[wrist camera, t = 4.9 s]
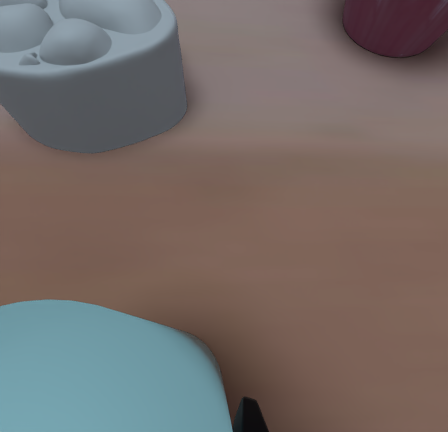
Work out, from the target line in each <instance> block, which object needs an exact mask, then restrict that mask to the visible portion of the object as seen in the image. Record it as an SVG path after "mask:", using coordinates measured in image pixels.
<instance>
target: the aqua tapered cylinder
mask: <svg viewBox="0 0 448 432" xmlns="http://www.w3.org/2000/svg"><path fill="white" fill-rule="evenodd" d="M0 432H233V430H232V425H231V420H230V415H229V410H228V405H227V400H226V395H225V389H224V384H223V379H222V374H221V370H220V367H219V364H218V362H217V360H216V358H215V356H214V354H213V353H212V351H211V350H210V349H209V348H208V346H207V345H206V344H205V343H204V342H203V341H202V340H200V339H199V338H197V337H196V336H194V335H192V334H190V333H188V332H185V331H182V330H178V329H175V328H172V327H168V326H165V325H162V324H158V323H155V322H151V321H148V320H145V319H141V318H138V317H135V316H131V315H128V314H125V313H121V312H118V311H115V310H111V309H108V308H104V307H101V306H98V305H93V304H87V303H82V302H77V301H67V300H37V301H25V302H18V303H13V304H8V305H4V306H0Z"/></svg>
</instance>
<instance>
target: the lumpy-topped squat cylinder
mask: <svg viewBox="0 0 448 432" xmlns="http://www.w3.org/2000/svg"><path fill="white" fill-rule="evenodd" d="M0 104H1V105H2V106H3V107H4V108H5V109H6V110H7V111H8V112H9V114H10V115H11V116H12V117H13V118H14V119H15V120H16V121H17V122H18V123H19V125H20V126H21V127H22V128H23V129H24V130H25V131H26V132H27V133H28V134H29V135H30V136H31V137H32V138H34V139H35V140H37V141H38V142H40V143H42V144H44V145H46V146H48V147H51V148H55V149H59V150H65V151H71V152H79V153H99V152H104V151H109V150H113V149H117V148H121V147H124V146H128V145H131V144H134V143H137V142H140V141H143V140H145V139H148V138H150V137H153V136H155V135H158V134H161V133H163V132H165V131H167V130H169V129H171V128H172V127H174V126H175V125H176V124H177V123H178V122H179V121H180V120H181V119H182V118H183V116H184V115H185V113H186V110H187V100H186V92H185V83H184V75H183V66H182V58H181V49H180V43H179V36H178V26H177V20H176V17H175V14H174V13H173V11H172V9H171V8H170V7H169V5H168V4H167V3H166V2H165V1H164V0H0Z"/></svg>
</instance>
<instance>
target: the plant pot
mask: <svg viewBox="0 0 448 432" xmlns="http://www.w3.org/2000/svg"><path fill="white" fill-rule="evenodd" d="M343 25H344V28H345V30H346V32H347V33H348V35H349V36H350V37H351V38H352V39H353V40H354V41H355V42H356V43H357V44H359V45H360V46H362V47H363V48H365V49H367V50H369V51H371V52H374V53H377V54H380V55H384V56H390V57H408V56H412V55H416V54H419V53H421V52H423V51H424V50H426V49H427V48H428V47H430V46H431V45H432V44H433V43H434V42H435V41H436V40H437V39H438V38H439V37H440V36H441V35H442V34H443V33H445V32H446V31H447V30H448V0H346V2H345V7H344V13H343Z"/></svg>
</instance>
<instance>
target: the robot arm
mask: <svg viewBox="0 0 448 432" xmlns="http://www.w3.org/2000/svg"><path fill="white" fill-rule="evenodd" d="M233 432H269V431H268V428H267V426H266V423H265V421H264V418H263V415H262V413H261V410H260V408H259V405H258V403H257V401H256V400H254V399H251V398H248V397H243V398H242V400H241V402H240V405H239V408H238V411H237V413H236V416H235V420H234V425H233Z"/></svg>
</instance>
